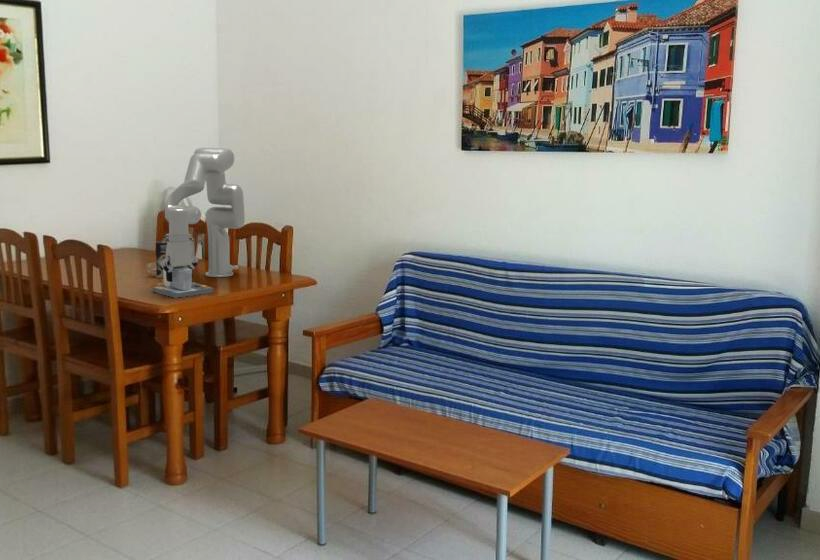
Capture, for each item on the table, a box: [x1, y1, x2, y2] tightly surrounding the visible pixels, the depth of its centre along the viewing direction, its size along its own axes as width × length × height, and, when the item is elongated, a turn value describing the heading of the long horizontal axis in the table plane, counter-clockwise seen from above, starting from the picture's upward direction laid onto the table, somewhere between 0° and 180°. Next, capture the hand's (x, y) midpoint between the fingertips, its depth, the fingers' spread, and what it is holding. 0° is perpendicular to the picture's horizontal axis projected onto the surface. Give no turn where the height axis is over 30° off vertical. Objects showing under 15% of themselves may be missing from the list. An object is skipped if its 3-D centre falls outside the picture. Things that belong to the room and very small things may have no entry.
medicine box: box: [170, 266, 193, 291], centre depth 329 cm, size 8×4×9 cm, turn 58°
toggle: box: [163, 269, 170, 286], centre depth 335 cm, size 4×5×8 cm
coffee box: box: [155, 240, 169, 279], centre depth 366 cm, size 9×6×16 cm
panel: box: [151, 281, 214, 299], centre depth 335 cm, size 18×17×3 cm
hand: (180, 280), depth 330 cm, fingers open, 9 cm apart
